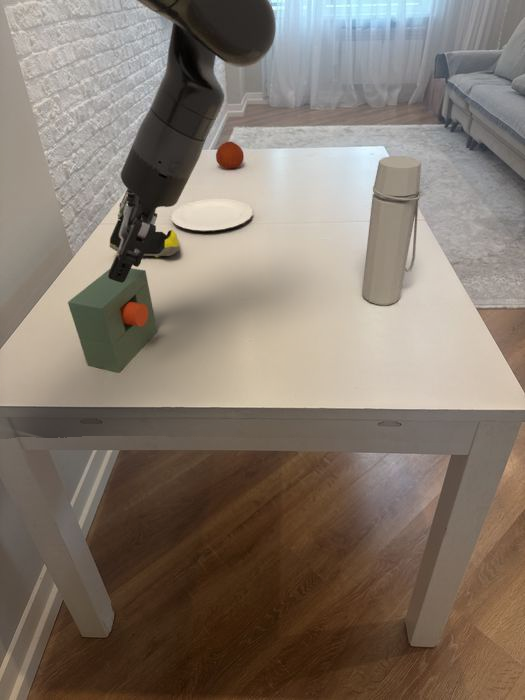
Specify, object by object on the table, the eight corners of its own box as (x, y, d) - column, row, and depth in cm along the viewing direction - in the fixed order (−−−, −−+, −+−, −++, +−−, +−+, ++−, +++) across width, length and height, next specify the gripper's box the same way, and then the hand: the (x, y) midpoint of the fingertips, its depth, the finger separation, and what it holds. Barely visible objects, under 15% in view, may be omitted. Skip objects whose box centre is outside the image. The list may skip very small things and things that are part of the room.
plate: (215, 243, 114) (215, 236, 113) (154, 223, 124) (153, 217, 123) (269, 214, 127) (269, 208, 126) (209, 198, 137) (209, 192, 136)
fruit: (212, 166, 161) (210, 140, 156) (238, 162, 164) (236, 136, 159) (222, 173, 155) (220, 147, 150) (248, 169, 157) (246, 143, 153)
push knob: (149, 318, 79) (146, 299, 77) (138, 331, 76) (133, 311, 74) (133, 315, 80) (129, 296, 78) (121, 327, 77) (116, 308, 75)
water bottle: (370, 310, 89) (387, 171, 74) (354, 289, 95) (368, 156, 80) (417, 303, 91) (443, 165, 76) (399, 283, 97) (420, 151, 82)
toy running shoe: (177, 266, 106) (188, 245, 113) (173, 242, 102) (185, 223, 110) (110, 263, 107) (126, 244, 115) (105, 240, 104) (121, 221, 112)
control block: (157, 331, 86) (145, 270, 79) (119, 373, 77) (101, 308, 70) (128, 325, 88) (113, 265, 81) (87, 365, 79) (67, 302, 72)
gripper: (133, 121, 62) (91, 225, 71) (134, 168, 52) (85, 282, 61) (186, 148, 66) (140, 243, 75) (197, 197, 56) (143, 301, 65)
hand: (116, 261), depth 68 cm, fingers open, 8 cm apart
